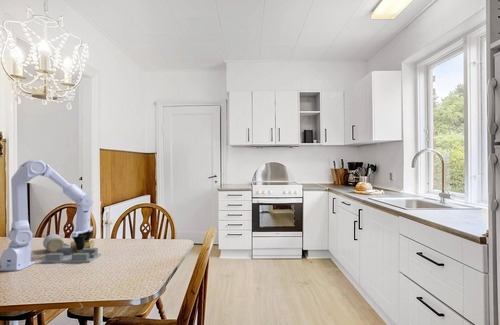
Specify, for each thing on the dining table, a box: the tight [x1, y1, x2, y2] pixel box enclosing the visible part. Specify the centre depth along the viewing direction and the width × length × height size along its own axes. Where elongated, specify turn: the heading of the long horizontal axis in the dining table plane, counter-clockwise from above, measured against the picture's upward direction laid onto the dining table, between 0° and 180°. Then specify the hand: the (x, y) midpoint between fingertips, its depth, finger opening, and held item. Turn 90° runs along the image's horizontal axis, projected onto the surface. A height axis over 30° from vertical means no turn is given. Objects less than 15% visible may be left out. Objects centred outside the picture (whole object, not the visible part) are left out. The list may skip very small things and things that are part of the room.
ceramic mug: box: [42, 233, 71, 253], centre depth 136 cm, size 11×8×8 cm
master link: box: [69, 239, 95, 253], centre depth 131 cm, size 4×9×6 cm, turn 93°
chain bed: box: [41, 247, 102, 264], centre depth 123 cm, size 10×20×4 cm, turn 93°
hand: (82, 248), depth 131 cm, fingers closed on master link, 3 cm apart
